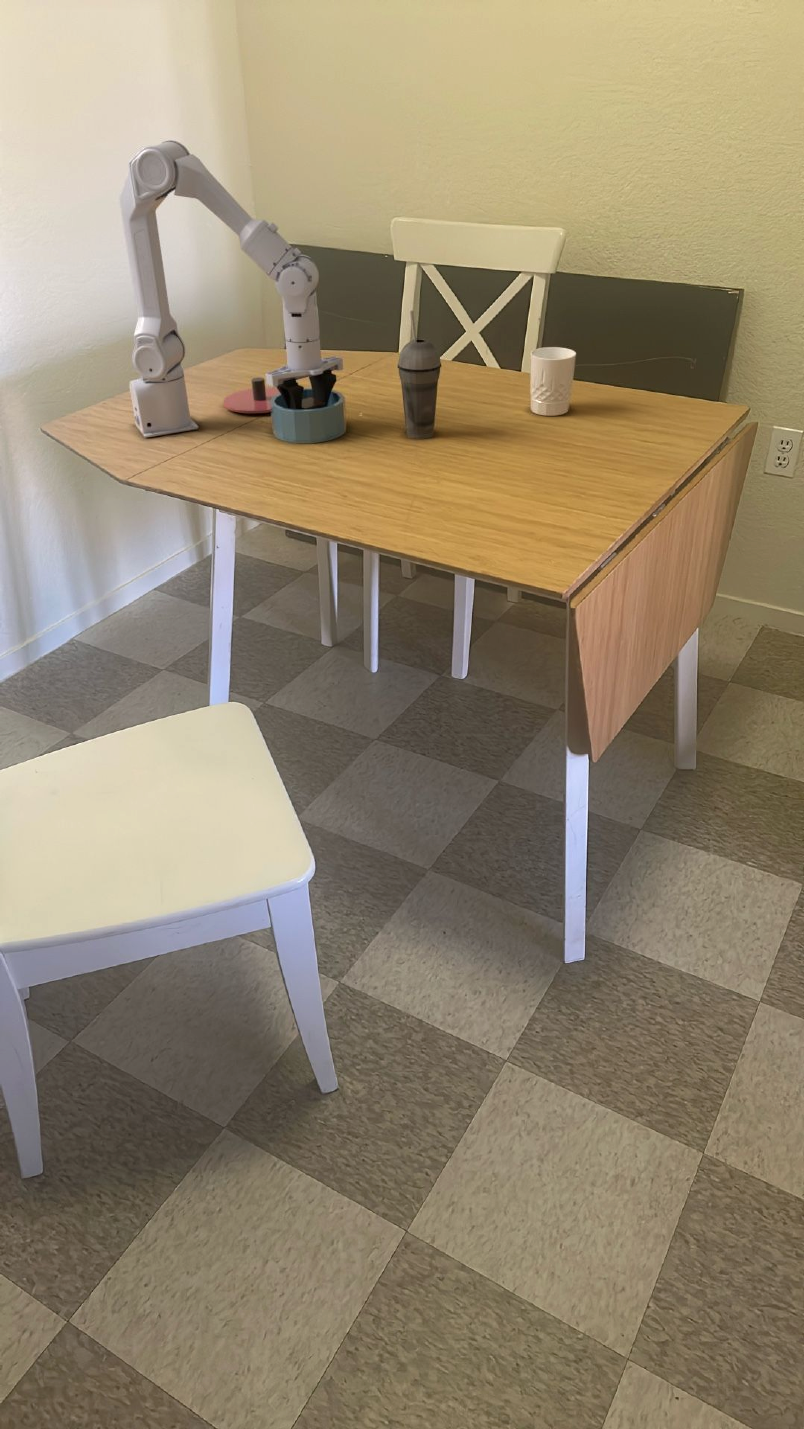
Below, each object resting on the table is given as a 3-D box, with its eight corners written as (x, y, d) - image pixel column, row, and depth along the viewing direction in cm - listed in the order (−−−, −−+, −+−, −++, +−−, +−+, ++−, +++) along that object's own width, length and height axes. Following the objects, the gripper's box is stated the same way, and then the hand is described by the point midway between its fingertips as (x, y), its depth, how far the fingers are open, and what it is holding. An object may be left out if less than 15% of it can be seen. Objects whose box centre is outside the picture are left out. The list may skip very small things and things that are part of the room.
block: (307, 434, 166) (305, 408, 164) (292, 427, 169) (290, 402, 167) (327, 428, 169) (325, 402, 166) (312, 422, 172) (310, 397, 169)
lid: (249, 421, 174) (246, 395, 171) (210, 404, 182) (206, 379, 180) (311, 404, 181) (309, 379, 178) (270, 389, 190) (267, 364, 187)
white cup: (570, 403, 178) (575, 347, 172) (572, 417, 172) (577, 359, 166) (527, 403, 179) (530, 346, 173) (527, 417, 172) (530, 359, 167)
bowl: (301, 449, 162) (298, 416, 159) (259, 430, 170) (256, 399, 167) (360, 431, 169) (359, 399, 165) (317, 414, 177) (315, 383, 173)
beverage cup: (437, 442, 163) (437, 317, 151) (395, 440, 164) (391, 316, 153) (444, 428, 169) (445, 306, 157) (403, 426, 170) (401, 305, 159)
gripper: (279, 351, 154) (287, 435, 162) (352, 334, 162) (356, 415, 169) (255, 343, 159) (264, 425, 166) (326, 326, 166) (331, 406, 174)
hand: (309, 419), depth 168 cm, fingers closed on block, 4 cm apart
